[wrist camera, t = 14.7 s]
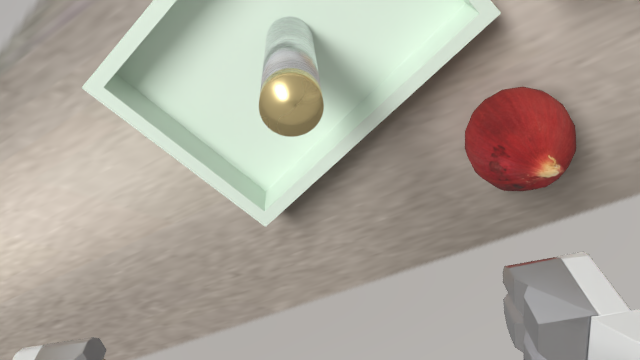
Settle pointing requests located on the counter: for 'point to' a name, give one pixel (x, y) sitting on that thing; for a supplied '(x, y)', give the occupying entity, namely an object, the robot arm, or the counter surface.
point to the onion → (520, 139)
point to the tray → (246, 74)
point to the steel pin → (290, 79)
